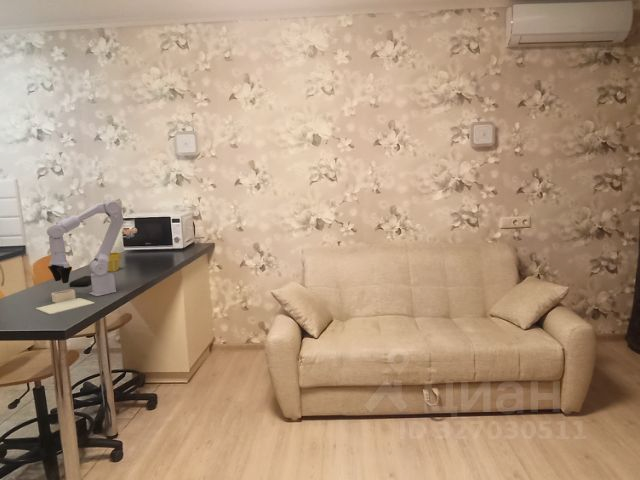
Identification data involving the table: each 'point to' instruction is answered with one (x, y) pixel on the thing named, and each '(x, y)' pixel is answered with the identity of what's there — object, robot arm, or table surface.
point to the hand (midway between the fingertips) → (61, 281)
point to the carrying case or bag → (81, 282)
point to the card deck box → (63, 296)
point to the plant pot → (114, 262)
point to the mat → (65, 306)
